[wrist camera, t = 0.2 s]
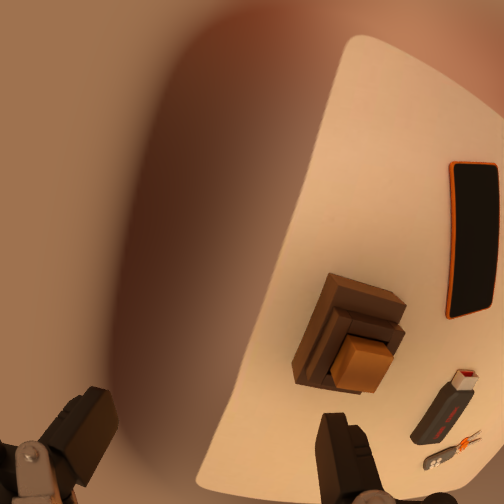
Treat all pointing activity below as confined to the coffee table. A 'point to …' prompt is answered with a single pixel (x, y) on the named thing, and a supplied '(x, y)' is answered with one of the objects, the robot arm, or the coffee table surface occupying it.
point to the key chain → (447, 453)
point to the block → (345, 328)
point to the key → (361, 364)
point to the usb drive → (445, 409)
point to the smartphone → (473, 237)
